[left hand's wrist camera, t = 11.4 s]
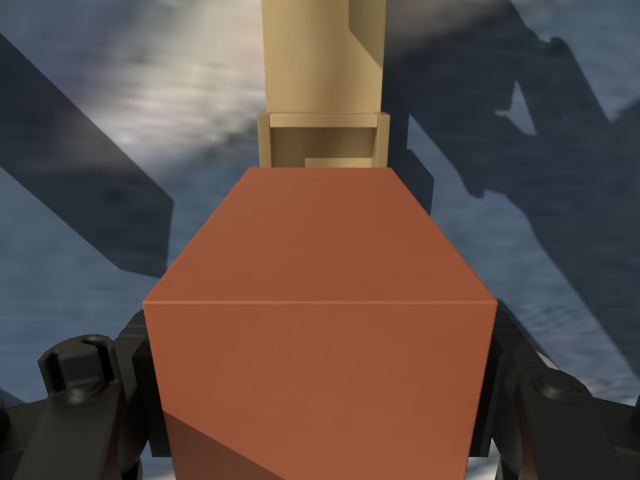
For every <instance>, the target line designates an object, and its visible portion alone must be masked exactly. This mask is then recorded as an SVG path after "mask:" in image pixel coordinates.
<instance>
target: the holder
mask: <svg viewBox="0 0 640 480" xmlns="http://www.w3.org/2000/svg"><path fill="white" fill-rule="evenodd" d="M261 1H262V22H263V43H264V65H265V86H266V107H267V112H262V113H260V114H258V115H257V123H258V141H259V159H260V168H387V163H388V147H389V132H390V115H389V114H387V113H385V112H381V97H382V79H383V60H384V42H385V24H386V5H387V0H261Z"/></svg>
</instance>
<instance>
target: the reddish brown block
mask: <svg viewBox="0 0 640 480" xmlns="http://www.w3.org/2000/svg"><path fill="white" fill-rule="evenodd" d="M497 306H498V302H497V300H496V299H495V298H494V296H493V295H492V294H491V293H490V291H489V290H488V289H487V288H486V286H485V285H484V284H483V283H482V281H481V280H480V279H479V278H478V276H477V275H476V274H475V272H474V271H473V270H472V269H471V267H470V266H469V265H468V264H467V262H466V261H465V260H464V259H463V257H462V256H461V255H460V254H459V252H458V251H457V250H456V249H455V247H454V246H453V245H452V244H451V242H450V241H449V240H448V239H447V237H446V236H445V235H444V234H443V232H442V231H441V230H440V229H439V227H438V226H437V225H436V224H435V222H434V221H433V220H432V219H431V217H430V216H429V215H428V214H427V212H426V211H425V210H424V209H423V207H422V206H421V205H420V204H419V202H418V201H417V200H416V199H415V197H414V196H413V195H412V194H411V192H410V191H409V190H408V189H407V187H406V186H405V185H404V184H403V182H402V181H401V180H400V179H399V177H398V176H397V175H396V174H395V172H394V171H393V170H392V169H391V168H257V167H250V168H249V169H248V170H247V171H246V173H245V174H244V175H243V176H242V178H241V179H240V180H239V181H238V183H237V184H236V185H235V186H234V188H233V189H232V190H231V191H230V193H229V194H228V195H227V196H226V198H225V199H224V200H223V201H222V203H221V204H220V205H219V206H218V208H217V209H216V210H215V211H214V213H213V214H212V215H211V216H210V218H209V219H208V220H207V221H206V223H205V224H204V225H203V226H202V228H201V229H200V230H199V231H198V233H197V234H196V235H195V236H194V238H193V239H192V240H191V242H190V243H189V244H188V245H187V247H186V248H185V249H184V250H183V252H182V253H181V254H180V255H179V257H178V258H177V259H176V260H175V262H174V263H173V264H172V265H171V267H170V268H169V269H168V270H167V272H166V273H165V274H164V275H163V277H162V278H161V279H160V280H159V282H158V283H157V284H156V285H155V287H154V288H153V289H152V290H151V292H150V293H149V294H148V295H147V297H146V298H145V299H144V300H143V309H144V314H145V319H146V325H147V330H148V335H149V340H150V346H151V351H152V356H153V362H154V367H155V372H156V377H157V383H158V388H159V393H160V398H161V404H162V409H163V414H164V419H165V425H166V430H167V435H168V440H169V446H170V451H171V456H172V461H173V467H174V472H175V477H176V480H464V479H465V473H466V468H467V463H468V458H469V452H470V447H471V442H472V437H473V431H474V426H475V421H476V416H477V411H478V405H479V400H480V395H481V390H482V384H483V379H484V374H485V369H486V363H487V358H488V353H489V348H490V342H491V337H492V332H493V327H494V321H495V316H496V311H497Z"/></svg>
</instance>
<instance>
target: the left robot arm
mask: <svg viewBox="0 0 640 480" xmlns="http://www.w3.org/2000/svg"><path fill="white" fill-rule="evenodd" d="M38 364H39V367H40V370H41V374H42V377H43V380H44V383H45V386H46V389H47V392H48V398H47V399H44V400H41V401H36V402H32V403H27V404H23V405H18V406H13V407H9V408H6V406H5V404H4V401H3V398H2V396H0V480H142V477H143V470H142V463H141V459H140V456H141V453H142V451H143V449H144V447H145V445H146V443H147V441H148V439H149V443H150V448H151V453H152V457H172V456H171V451H170V446H169V440H168V435H167V430H166V425H165V419H164V414H163V409H162V404H161V398H160V393H159V388H158V383H157V377H156V372H155V367H154V362H153V356H152V351H151V346H150V340H149V335H148V330H147V325H146V319H145V314H144V309H142V310H141V311H139V312H138V313H136V314H135V315H134V316H133V318H132V319H131V320H130V321H129V323H128V324H127V325H126V328H124V329H123V330H122V332H121V333H120V334H119V337H118V338H116V339H115V341H114V342H113V340H111V339H110V338H109V337H108V336H103V335H98V334H94V335H83V336H79V337H75V338H71V339H68V340H66V341H63V342H61V343H59V344H56V345H55V346H53V347H52V348H50V349H49V350H48V351H46V352H45V353H44V354H43V355H42V356H41V357H40V359H39V360H38ZM492 438H493V440H494V442H495V445H496V447H497V449H498V451H499V453H500V459H499V463H498V468H497V472H496V476H495V480H640V395H639V397H638V399H637V402H636V405H635V406H630V405H626V404H621V403H616V402H612V401H607V400H603V399H599V398H595V397H592V395H591V393H590V392H589V390H588V389H587V388H586V386H585V385H584V384H582V383H581V382H580V381H579V380H577V379H576V378H575V377H573V376H571V375H569V374H567V373H565V372H563V371H561V370H557V369H554V368H550V367H548V366H547V365H546V364H545V362H544V361H543V360H542V359H541V357H540V356H539V355H538V353H537V352H536V351H535V350H534V348H533V347H532V346H531V345H530V343H529V342H528V341H527V340H526V338H525V337H524V336H522V333H521V332H520V331H519V330H518V328H517V327H515V326H514V323H513V322H512V321H511V319H510V318H509V317H508V316H507V314H506V313H505V312H503V311H502V310H500V309H499V308H497V311H496V316H495V321H494V327H493V332H492V337H491V342H490V348H489V353H488V358H487V363H486V369H485V374H484V379H483V384H482V390H481V395H480V400H479V405H478V411H477V416H476V421H475V426H474V431H473V437H472V442H471V447H470V452H469V457H488V454H489V449H490V444H491V440H492Z"/></svg>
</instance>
